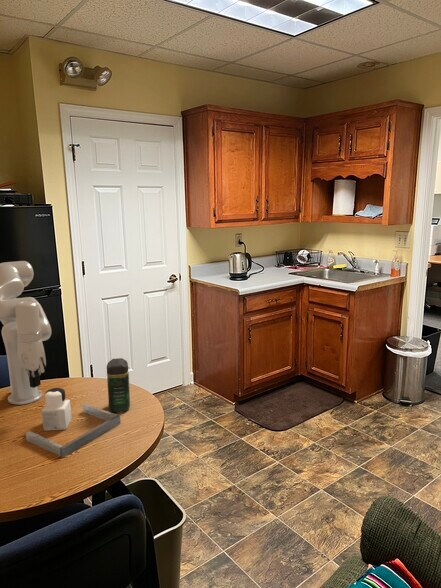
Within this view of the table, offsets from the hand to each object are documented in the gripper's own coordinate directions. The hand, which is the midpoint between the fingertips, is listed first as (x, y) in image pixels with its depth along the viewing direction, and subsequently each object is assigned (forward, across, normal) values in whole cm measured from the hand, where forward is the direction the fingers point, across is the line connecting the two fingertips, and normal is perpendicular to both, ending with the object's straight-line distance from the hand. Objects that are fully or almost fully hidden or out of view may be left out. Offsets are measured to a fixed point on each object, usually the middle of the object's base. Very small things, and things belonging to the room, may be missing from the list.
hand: (35, 386), depth 159 cm
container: (+13, +10, 0) cm, 16 cm away
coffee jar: (+13, +19, +21) cm, 31 cm away
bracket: (+13, +20, 0) cm, 24 cm away
